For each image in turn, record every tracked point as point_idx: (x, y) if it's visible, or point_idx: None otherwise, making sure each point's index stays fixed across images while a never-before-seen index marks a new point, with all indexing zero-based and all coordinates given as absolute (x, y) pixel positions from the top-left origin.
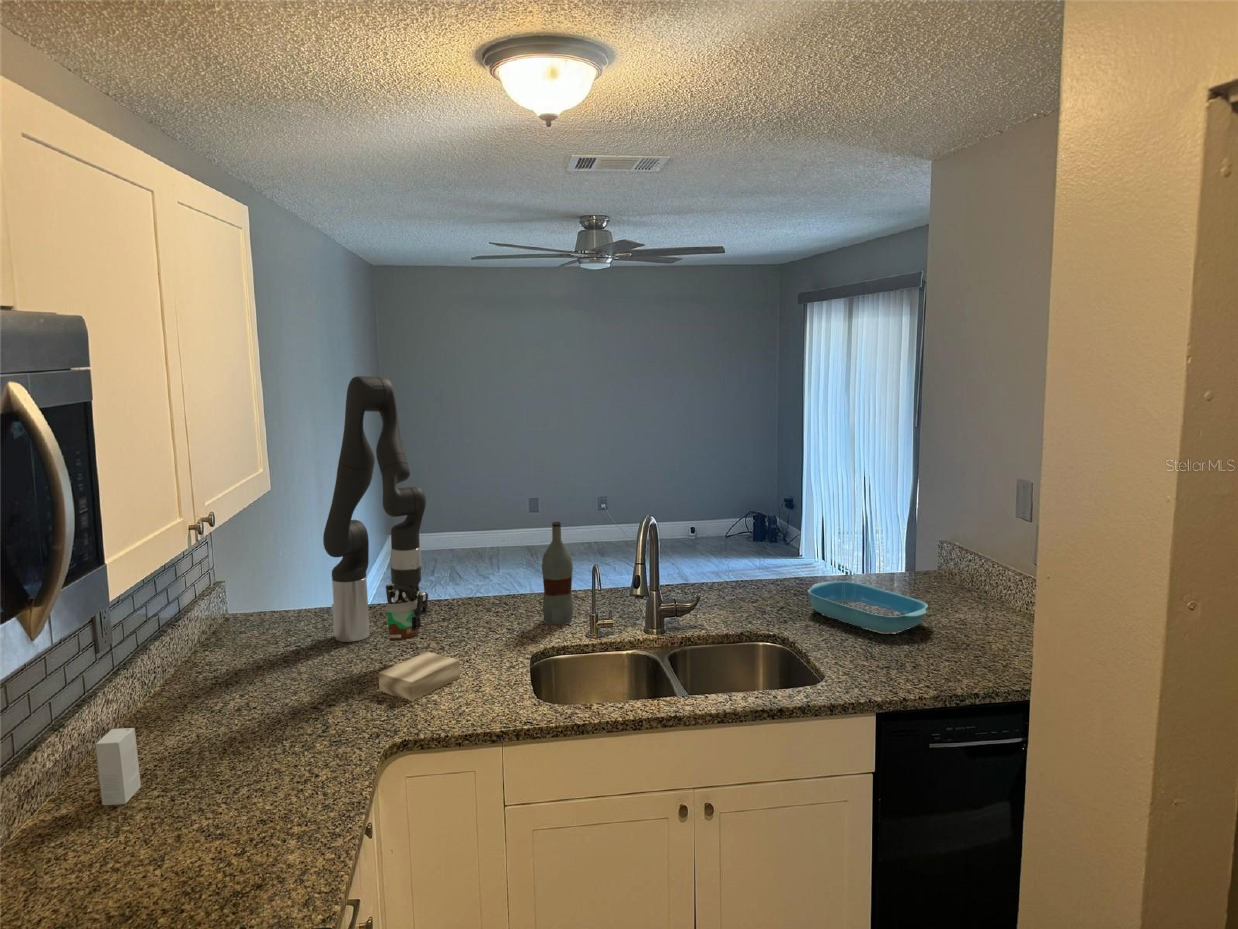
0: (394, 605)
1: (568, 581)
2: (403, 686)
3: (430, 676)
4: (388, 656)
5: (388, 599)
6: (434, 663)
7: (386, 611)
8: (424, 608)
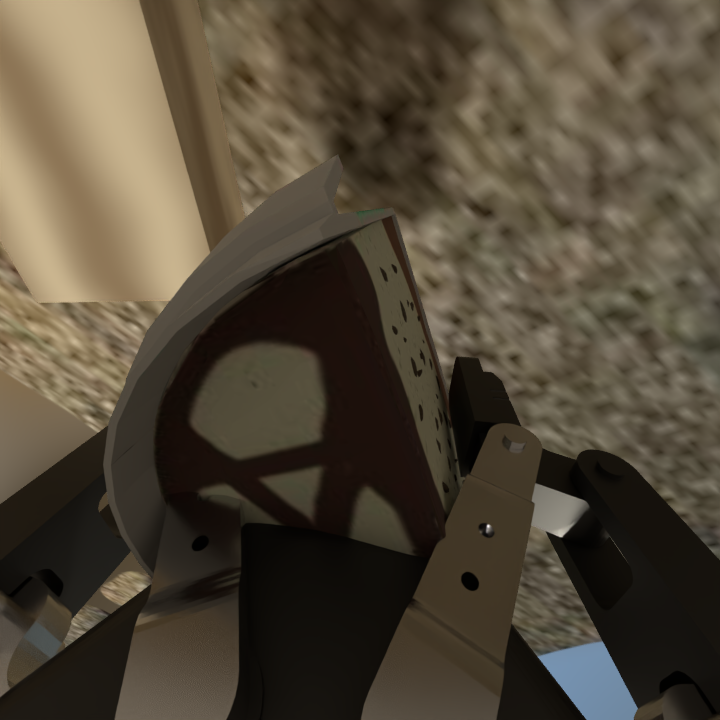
0: (173, 326)
1: None
2: None
3: None
4: (503, 282)
5: (672, 541)
6: (46, 202)
7: (320, 165)
8: None
